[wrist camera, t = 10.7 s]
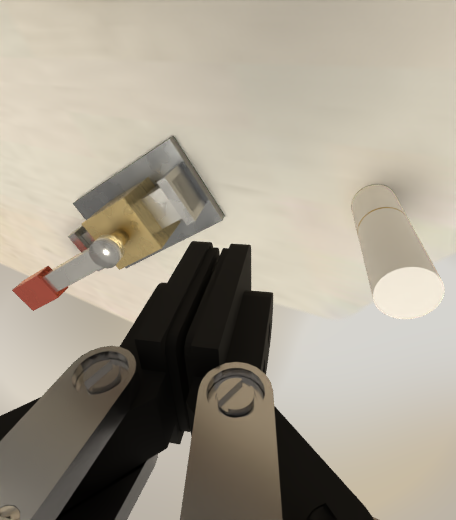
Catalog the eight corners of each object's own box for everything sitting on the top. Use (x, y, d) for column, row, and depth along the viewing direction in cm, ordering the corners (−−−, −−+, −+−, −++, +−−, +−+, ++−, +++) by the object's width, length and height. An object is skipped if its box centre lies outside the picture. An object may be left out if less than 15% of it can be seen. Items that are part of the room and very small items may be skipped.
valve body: (78, 199, 42) (26, 235, 35) (173, 136, 36) (136, 162, 28) (130, 263, 46) (93, 308, 38) (224, 215, 39) (203, 258, 32)
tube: (343, 200, 36) (360, 285, 23) (383, 176, 34) (426, 255, 21) (364, 231, 37) (391, 327, 25) (404, 209, 35) (456, 303, 23)
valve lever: (111, 227, 32) (101, 237, 30) (131, 253, 33) (123, 263, 32) (23, 280, 38) (12, 290, 36) (43, 300, 39) (33, 310, 37)
